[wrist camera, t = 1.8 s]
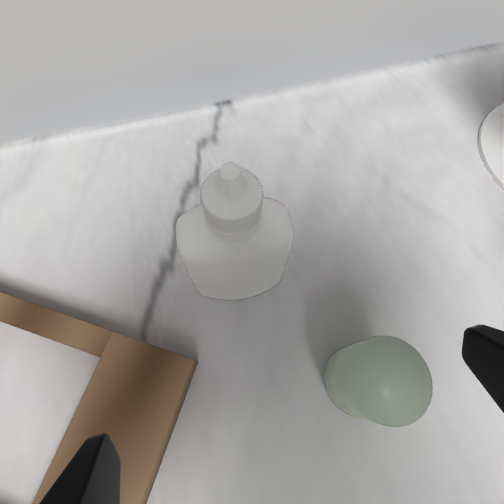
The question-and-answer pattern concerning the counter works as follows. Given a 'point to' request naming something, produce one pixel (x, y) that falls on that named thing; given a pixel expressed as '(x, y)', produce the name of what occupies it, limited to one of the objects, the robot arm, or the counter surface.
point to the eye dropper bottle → (234, 237)
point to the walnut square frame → (113, 395)
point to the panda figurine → (493, 144)
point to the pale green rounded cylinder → (379, 381)
